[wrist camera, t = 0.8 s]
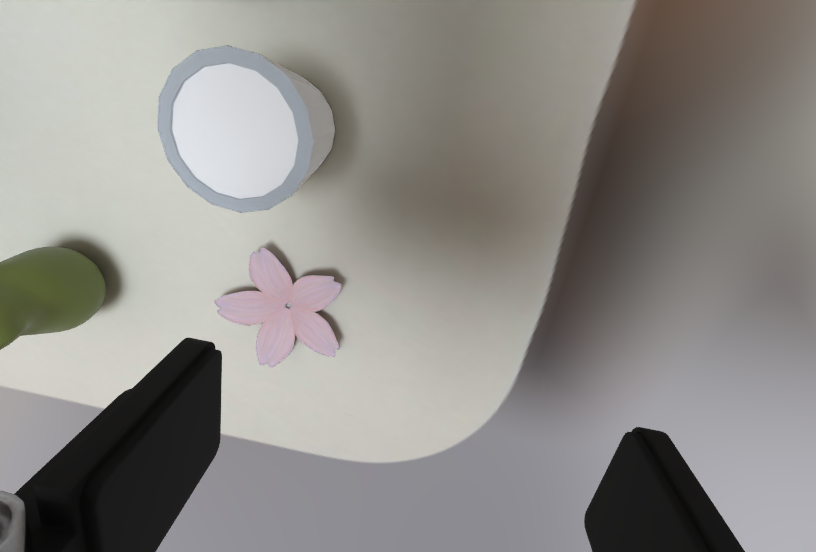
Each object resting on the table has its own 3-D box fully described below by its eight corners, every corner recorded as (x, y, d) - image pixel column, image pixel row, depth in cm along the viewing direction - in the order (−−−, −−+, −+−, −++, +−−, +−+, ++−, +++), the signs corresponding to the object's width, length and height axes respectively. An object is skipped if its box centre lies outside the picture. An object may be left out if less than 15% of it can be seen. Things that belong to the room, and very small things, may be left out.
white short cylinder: (346, 64, 24) (311, 50, 17) (345, 190, 26) (313, 219, 20) (223, 56, 24) (142, 39, 18) (233, 181, 27) (166, 207, 20)
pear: (86, 222, 28) (-87, 281, 19) (140, 289, 30) (4, 373, 21) (28, 259, 30) (-161, 331, 20) (82, 321, 31) (-69, 415, 22)
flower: (324, 206, 27) (317, 212, 25) (387, 340, 30) (384, 353, 29) (191, 259, 29) (178, 268, 27) (264, 380, 32) (256, 393, 31)
